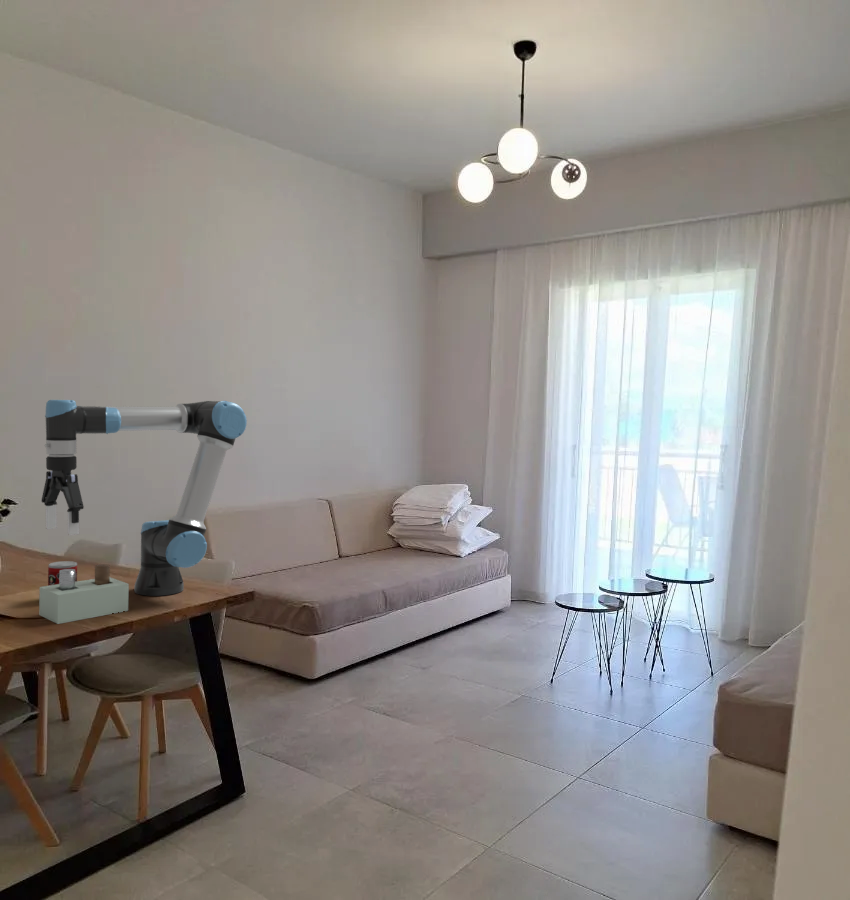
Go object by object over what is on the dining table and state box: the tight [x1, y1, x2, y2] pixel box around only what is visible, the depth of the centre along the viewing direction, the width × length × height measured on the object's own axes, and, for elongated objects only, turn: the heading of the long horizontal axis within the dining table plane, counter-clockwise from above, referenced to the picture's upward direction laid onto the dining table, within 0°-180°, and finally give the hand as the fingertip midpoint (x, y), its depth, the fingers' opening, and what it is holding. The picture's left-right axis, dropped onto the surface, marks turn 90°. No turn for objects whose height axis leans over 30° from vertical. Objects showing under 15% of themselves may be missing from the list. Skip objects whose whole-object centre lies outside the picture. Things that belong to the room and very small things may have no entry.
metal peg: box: [59, 569, 75, 591], centre depth 205 cm, size 4×4×8 cm
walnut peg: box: [94, 563, 111, 585], centre depth 213 cm, size 4×4×8 cm
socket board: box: [38, 576, 130, 625], centre depth 209 cm, size 20×12×8 cm, turn 140°
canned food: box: [47, 560, 78, 586], centre depth 223 cm, size 8×8×11 cm
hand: (62, 531), depth 203 cm, fingers open, 13 cm apart
